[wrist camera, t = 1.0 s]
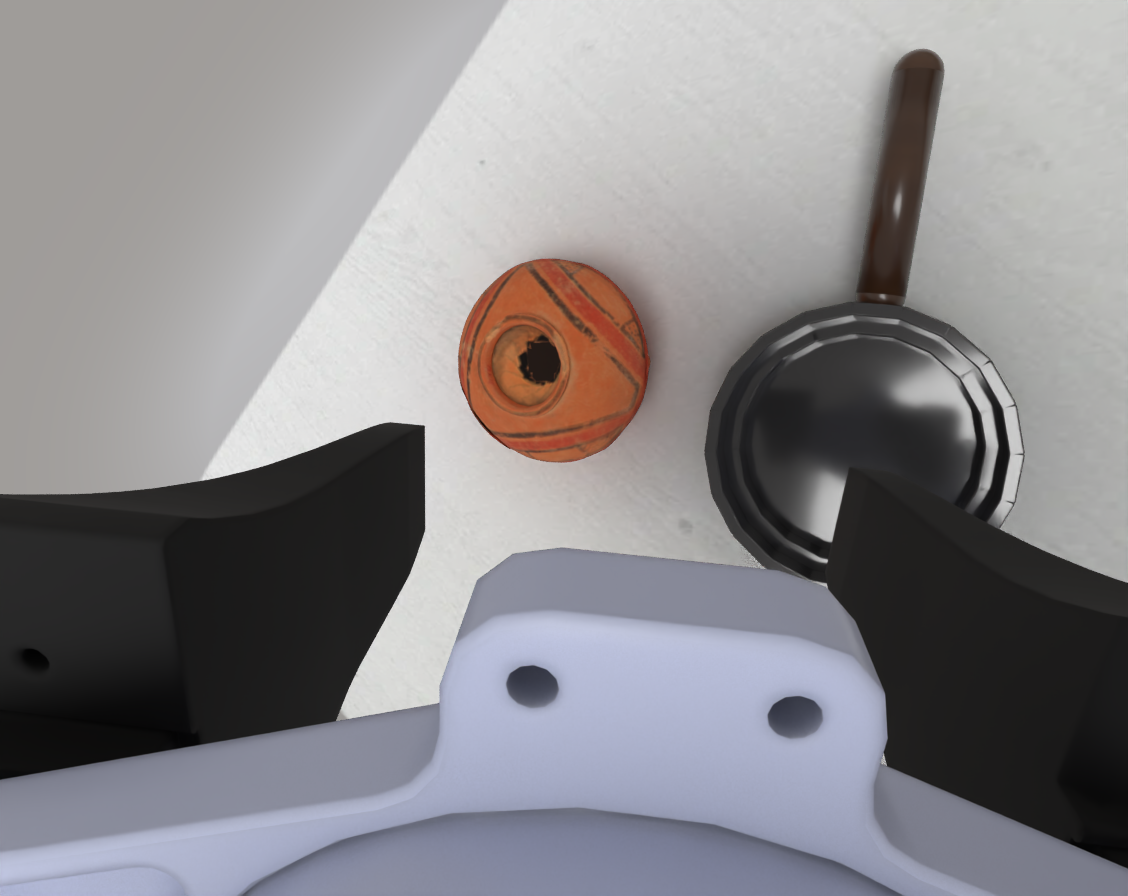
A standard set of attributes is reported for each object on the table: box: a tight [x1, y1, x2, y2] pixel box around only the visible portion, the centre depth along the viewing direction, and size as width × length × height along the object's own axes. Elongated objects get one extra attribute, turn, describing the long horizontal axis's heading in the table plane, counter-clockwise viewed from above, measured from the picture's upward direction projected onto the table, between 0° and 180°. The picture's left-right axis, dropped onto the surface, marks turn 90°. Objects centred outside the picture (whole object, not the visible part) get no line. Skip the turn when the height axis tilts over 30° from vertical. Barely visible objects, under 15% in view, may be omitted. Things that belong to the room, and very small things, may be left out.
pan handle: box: [856, 49, 944, 306], centre depth 27 cm, size 9×2×2 cm, turn 173°
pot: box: [458, 259, 650, 462], centre depth 32 cm, size 8×8×7 cm
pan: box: [704, 302, 1025, 589], centre depth 29 cm, size 10×10×3 cm
